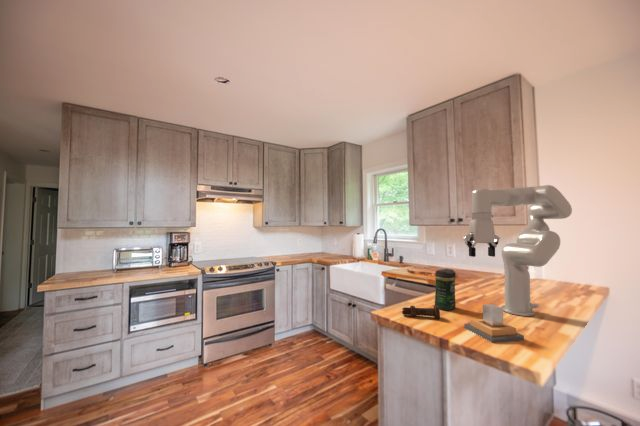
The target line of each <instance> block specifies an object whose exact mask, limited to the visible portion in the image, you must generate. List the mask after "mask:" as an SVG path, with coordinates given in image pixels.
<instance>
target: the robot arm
mask: <svg viewBox="0 0 640 426" xmlns="http://www.w3.org/2000/svg"><path fill="white" fill-rule="evenodd" d="M527 205H529V206H528V208H527V217H528V225H527V226H526V227H525V228H524V229H523V230H522V231H521V233H520V234H519V235H518V236H517V238H516V242H515V243H514V242H513V243H508V244H505V245H504V246H503V247H502V248H501V257H502V263H503V266H504V267H503V268H504V269H503V270H504V305H501V306H500V307H502V308H503V312H505V313H508V314H509V315H510V314H511V315H515V316H522V317H533V316H535V315H536V312H535V311H534V310H533V309H536V308H537V309H538V308H539V307H540V306H539V304H538V303H532V302H531V275H530V271H529V270H528V268H527V266H530V267H539V268H540V267H543V266H545V265H546V264H548V263H549V261H550V260H551V259H552V258H553V257H554V256H555V255H556V253H557V252H558V250H559V249H560V246H561V238H560V235H559V234H558V232H555V231H552V230H550V227H549V225H548V223H546V222H545V220H558V219H559V220H562V219H563V220H564V219H567V218H569V217H570V216H571V215H572V212H573V209H572V205H571V204H570V202H569V201H568V200H567V199H566V196H564V194H562V192H561V191H560V190H559V189H558V188H557V187H556V186H553V185H550V184H546V185H537V186H536V185H535V186H525V187H524V186H523V187H509V188H504V189H500V188H499V189H489V188H488V189H487V188H479V189H478V188H477V189H474V190H472V191H471V220H469V225H468V228H467V229H468V231H467V235H465V236H463V237H462V238H463V241H464V244H466V246H467V248H468V256H469V257H472V258H475V257H476V256H477V255H476V254H477V253H476V252H477V251H476V245H477V244H487V245H488V247H487V248H488V249H487V255H488V256H489V257H493V258H495V257H496V248H497V245H498V244H499V241H500V240H501V237H500V236H498V235H496V234H495V233H496V232H495V225H494V221H493V217H494V216H493V214H492V213H493V211H492V208H493V207H514V206H515V207H516V206H517V207H518V206H527Z"/></svg>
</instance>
